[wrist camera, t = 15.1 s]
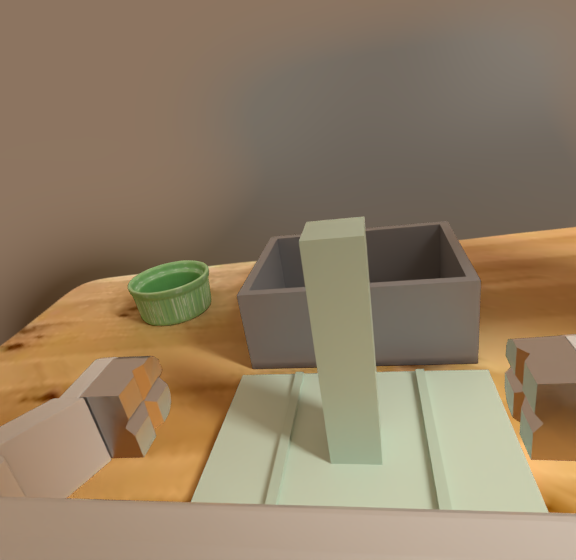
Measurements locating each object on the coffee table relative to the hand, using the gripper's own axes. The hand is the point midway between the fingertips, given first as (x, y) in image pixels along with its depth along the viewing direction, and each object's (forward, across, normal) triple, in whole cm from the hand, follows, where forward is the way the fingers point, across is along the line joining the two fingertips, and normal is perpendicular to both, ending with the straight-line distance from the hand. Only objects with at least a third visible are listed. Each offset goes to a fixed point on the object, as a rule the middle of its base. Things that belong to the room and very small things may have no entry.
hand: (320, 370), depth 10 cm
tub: (+28, +1, +15) cm, 32 cm away
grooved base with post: (+12, +1, +15) cm, 19 cm away
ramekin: (+33, +22, +15) cm, 42 cm away
